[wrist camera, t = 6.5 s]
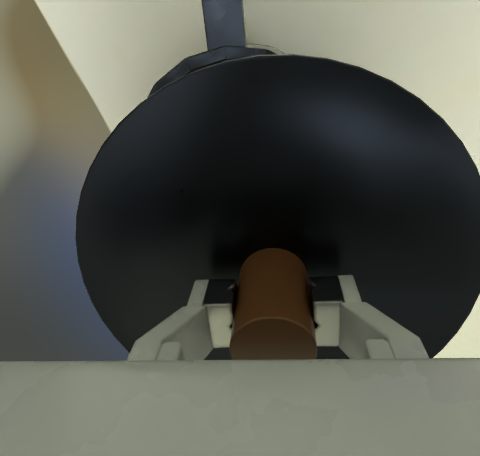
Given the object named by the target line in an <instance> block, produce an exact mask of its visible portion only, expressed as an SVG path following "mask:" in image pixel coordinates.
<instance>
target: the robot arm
mask: <svg viewBox="0 0 480 456" xmlns="http://www.w3.org/2000/svg"><path fill="white" fill-rule="evenodd" d="M237 290H238V284H237V280H236V279H210V280H209V279H205V280H196V281H195V282H194V285H193V288H192V291H191V294H190V297H189V300H188V303H187V306H184V307H182V308H180V309H179V310H177V311H176V312H175V313H173V314H172V315H171V316H169V317H168V318H166V319H165V320H164V321H162V322H161V323H160V324H158V325H157V326H155V327H154V328H153V329H151V330H150V331H148V332H147V333H146V334H144V335H143V336H142V337H140V338H139V339H137V340H136V341H135V343H134V345H133V347H132V349H131V352H130V354H129V356H128V358H127V360H126V361H23V362H22V361H21V362H20V361H17V362H16V361H15V362H0V456H480V358H429V357H428V354H427V352H426V350H425V348H424V346H423V344H422V342H421V340H420V338H419V337H418V336H416V335H415V334H413V333H412V332H410V331H409V330H407V329H406V328H404V327H403V326H401V325H400V324H398V323H397V322H395V321H394V320H392V319H391V318H389V317H388V316H386V315H385V314H383V313H382V312H380V311H379V310H377V309H376V308H374V307H373V306H371V305H370V304H368V303H367V302H362V301H361V298H360V295H359V292H358V289H357V286H356V283H355V280H354V277H353V275H338V276H323V277H309V290H310V299H311V306H312V314H313V321H314V328H315V336H316V343H317V346H339V348H340V349H341V350H342V351H343V352H344V353H345V354H346V355H347V356H348V357H349V358H350V359H287V360H204V359H205V358H206V356H207V355H208V354H209V353H210V352H211V351H212V350H213V348H222V347H229V345H230V338H231V331H232V324H233V318H234V311H235V304H236V297H237Z"/></svg>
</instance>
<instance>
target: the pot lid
mask: <svg viewBox="0 0 480 456" xmlns="http://www.w3.org/2000/svg"><path fill="white" fill-rule="evenodd" d="M76 246H77V256H78V263H79V266H80V270H81V274H82V278H83V282H84V284H85V287H86V289H87V292H88V294H89V297H90V299H91V301H92V303H93V305H94V307H95V309H96V310H97V312H98V314H99V316H100V317H101V319H102V321H103V322H104V323H105V325H106V326H107V328H108V329H109V330H110V332H111V333H112V334H113V336H114V337H115V338H116V339H117V340H118V341H119V342H120V343H121V344H122V346H123V347H124V348H125V349H126V350H127V351H128V352H129V353H130V352H131V349H132V347H133V345H134V343H135V341H136V340H137V339H139V338H140V337H142V336H143V335H144V334H146V333H147V332H148V331H150V330H151V329H153V328H154V327H155V326H157V325H158V324H160V323H161V322H162V321H164V320H165V319H166V318H168V317H169V316H171V315H172V314H173V313H175V312H176V311H177V310H179V309H180V308H182V307H184V306H187V303H188V300H189V297H190V294H191V291H192V288H193V285H194V282H195V281H196V280H205V279H209V280H210V279H236V280H237V284H238V290H237V297H236V304H235V311H234V318H233V324H232V331H231V338H230V345H229V347H222V348H213V350H212V351H211V352H210V353H209V354H208V355H207V356H206V358H205V359H204V360H287V359H350V358H349V357H348V356H347V355H346V354H345V353H344V352H343V351H342V350H341V349H340V348H339V346H317V343H316V336H315V328H314V321H313V314H312V306H311V299H310V290H309V277H323V276H338V275H353V277H354V280H355V283H356V286H357V289H358V292H359V295H360V298H361V301H362V302H367V303H368V304H370V305H371V306H373V307H374V308H376V309H377V310H379V311H380V312H382V313H383V314H385V315H386V316H388V317H389V318H391V319H392V320H394V321H395V322H397V323H398V324H400V325H401V326H403V327H404V328H406V329H407V330H409V331H410V332H412V333H413V334H415V335H416V336H418V337H419V338H420V340H421V342H422V344H423V346H424V348H425V350H426V352H427V354H428V357H429V358H433V357H434V356H435V355H437V354H438V353H439V352H440V351H441V350H442V349H443V348H444V347H445V346H446V345H447V343H448V342H449V341H450V340H451V339H452V338H453V337H454V335H455V334H456V333H457V332H458V330H459V329H460V327H461V326H462V324H463V323H464V322H465V320H466V319H467V317H468V316H469V314H470V312H471V310H472V308H473V306H474V304H475V302H476V300H477V298H478V296H479V294H480V175H479V172H478V169H477V167H476V165H475V163H474V162H473V160H472V158H471V156H470V155H469V153H468V151H467V149H466V148H465V146H464V144H463V142H462V141H461V140H460V139H459V137H458V136H457V135H456V134H455V133H454V131H453V130H452V129H451V128H450V127H449V125H448V124H447V123H446V122H445V120H444V119H443V118H442V117H440V116H439V115H438V114H437V113H436V112H435V111H434V110H432V109H431V108H430V107H429V106H428V105H427V104H426V103H424V102H423V101H422V100H421V99H420V98H418V97H417V96H415V95H414V94H412V93H410V92H409V91H407V90H406V89H404V88H403V87H401V86H399V85H398V84H396V83H395V82H393V81H391V80H389V79H386V78H384V77H382V76H380V75H377V74H375V73H373V72H370V71H368V70H366V69H363V68H361V67H358V66H355V65H351V64H347V63H343V62H340V61H336V60H332V59H328V58H323V57H314V56H305V55H297V54H277V55H256V56H251V57H245V58H239V59H233V60H228V61H224V62H221V63H218V64H215V65H212V66H209V67H206V68H203V69H200V70H197V71H194V72H192V73H190V74H188V75H186V76H184V77H182V78H180V79H178V80H176V81H174V82H172V83H170V84H168V85H166V86H164V87H163V88H161V89H160V90H159V91H157V92H156V93H154V94H153V95H151V96H150V97H148V98H147V99H146V100H144V101H143V102H141V103H140V104H139V105H138V106H137V107H136V108H135V109H134V110H133V111H131V112H130V113H129V114H128V115H127V116H126V117H125V118H124V119H123V120H122V121H121V122H120V123H119V124H118V125H117V127H116V128H115V129H114V130H113V132H112V133H111V134H110V136H109V137H108V138H107V140H106V141H105V142H104V143H103V145H102V146H101V148H100V150H99V152H98V154H97V155H96V157H95V159H94V161H93V163H92V165H91V166H90V169H89V171H88V174H87V177H86V180H85V182H84V185H83V188H82V191H81V195H80V201H79V205H78V210H77V216H76Z"/></svg>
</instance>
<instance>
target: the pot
mask: <svg viewBox="0 0 480 456" xmlns="http://www.w3.org/2000/svg"><path fill="white" fill-rule="evenodd" d="M202 8H203V16H204V24H205V32H206V40H207V48H208V51H206V52H203V53H200V54H196V55H193V56H190V57H187V58H185V59H184V60H182V61H181V62H180V63H179V64H178V65H176V66H175V67H174V68H173V69H172V70H171V71H169V72H168V73H167V74H166V75H165V76H163V77H162V78H161V79H160V80H159V81H157V82H156V84H154V86H153V88H152V90H151V92H150V94H149V96H148V97H150V96H151V95H153V94H154V93H156V92H157V91H159V90H160V89H161V88H163V87H164V86H166V85H168V84H170V83H172V82H174V81H176V80H178V79H180V78H182V77H184V76H186V75H188V74H190V73H192V72H194V71H197V70H200V69H203V68H206V67H209V66H212V65H215V64H218V63H221V62H224V61H228V60H233V59H239V58H245V57H251V56H256V55H277V54H285V53H283V52H281V51H279V50H277V49H275V48H273V47H271V46H267V45H255V44H246V33H245V21H244V9H243V0H202Z"/></svg>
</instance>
